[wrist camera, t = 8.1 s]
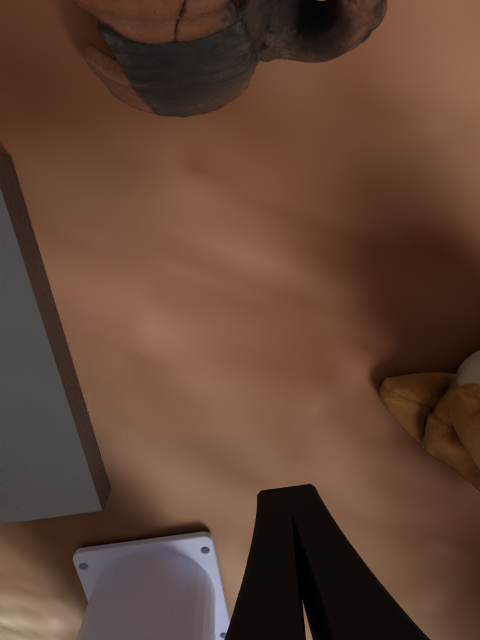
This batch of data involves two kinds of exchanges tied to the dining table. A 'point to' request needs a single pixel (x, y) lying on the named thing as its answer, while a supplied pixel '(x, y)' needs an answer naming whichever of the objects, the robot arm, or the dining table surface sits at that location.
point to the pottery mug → (215, 45)
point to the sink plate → (38, 385)
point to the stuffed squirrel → (441, 413)
